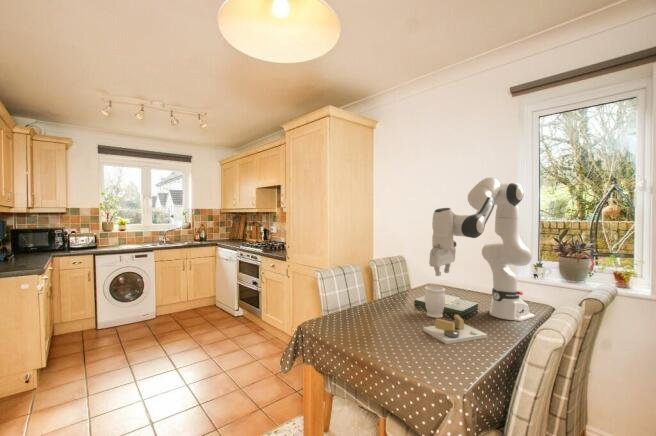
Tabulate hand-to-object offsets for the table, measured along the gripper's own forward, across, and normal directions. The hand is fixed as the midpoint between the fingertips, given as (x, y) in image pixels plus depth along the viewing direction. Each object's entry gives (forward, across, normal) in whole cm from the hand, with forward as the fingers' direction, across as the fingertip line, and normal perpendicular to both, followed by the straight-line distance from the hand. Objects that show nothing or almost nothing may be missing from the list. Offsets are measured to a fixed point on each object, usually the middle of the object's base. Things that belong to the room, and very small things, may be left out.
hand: (442, 274), depth 138 cm
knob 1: (+26, -2, -3) cm, 26 cm away
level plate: (+28, +5, -4) cm, 28 cm away
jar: (+28, +23, +14) cm, 39 cm away
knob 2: (+26, +8, -4) cm, 28 cm away
